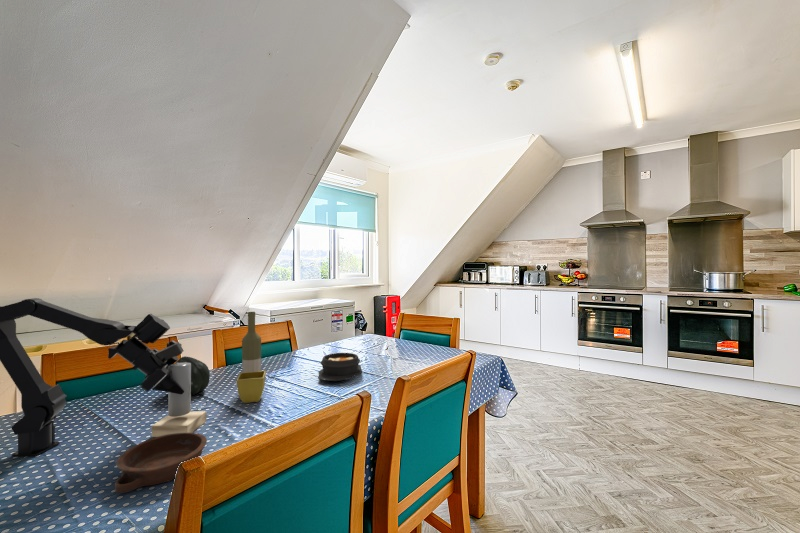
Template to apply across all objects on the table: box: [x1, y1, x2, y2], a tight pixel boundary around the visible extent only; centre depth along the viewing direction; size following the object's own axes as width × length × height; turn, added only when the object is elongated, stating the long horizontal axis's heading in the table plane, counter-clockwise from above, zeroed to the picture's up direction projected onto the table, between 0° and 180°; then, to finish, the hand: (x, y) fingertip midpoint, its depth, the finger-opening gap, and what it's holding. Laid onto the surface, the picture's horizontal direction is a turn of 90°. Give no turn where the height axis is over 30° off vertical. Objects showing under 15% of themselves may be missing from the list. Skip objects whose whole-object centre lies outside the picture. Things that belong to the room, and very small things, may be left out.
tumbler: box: [167, 362, 192, 417], centre depth 106 cm, size 6×6×14 cm
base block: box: [150, 410, 207, 438], centre depth 106 cm, size 10×10×3 cm
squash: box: [175, 355, 211, 396], centre depth 135 cm, size 14×15×15 cm
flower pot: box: [236, 370, 266, 404], centre depth 128 cm, size 9×9×9 cm
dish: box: [114, 432, 208, 494], centre depth 85 cm, size 18×22×5 cm
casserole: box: [317, 352, 363, 382], centre depth 156 cm, size 25×19×8 cm
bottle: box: [241, 311, 262, 373], centre depth 138 cm, size 7×7×30 cm
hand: (185, 389), depth 106 cm, fingers closed on tumbler, 6 cm apart
